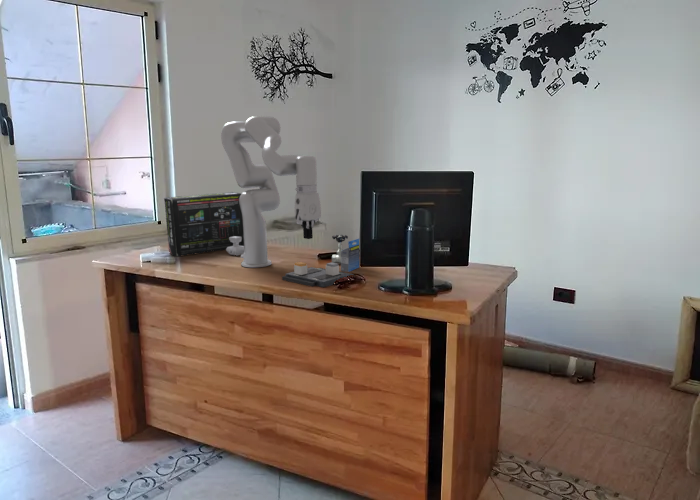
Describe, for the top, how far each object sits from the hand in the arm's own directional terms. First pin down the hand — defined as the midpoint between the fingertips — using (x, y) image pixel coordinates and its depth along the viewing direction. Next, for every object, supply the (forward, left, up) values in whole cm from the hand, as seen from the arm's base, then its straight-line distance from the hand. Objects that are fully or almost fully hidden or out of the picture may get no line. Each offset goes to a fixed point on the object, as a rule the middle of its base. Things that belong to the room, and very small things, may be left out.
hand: (308, 238), depth 211 cm
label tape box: (+4, +19, -15) cm, 25 cm away
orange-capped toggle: (0, -4, -13) cm, 14 cm away
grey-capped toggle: (+10, +2, -13) cm, 16 cm away
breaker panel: (+5, -1, -15) cm, 16 cm away
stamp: (-57, +9, -15) cm, 60 cm away
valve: (-6, +24, -15) cm, 29 cm away
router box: (-77, +7, -15) cm, 79 cm away
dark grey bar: (+3, -9, -15) cm, 18 cm away
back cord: (+5, +9, -15) cm, 18 cm away
